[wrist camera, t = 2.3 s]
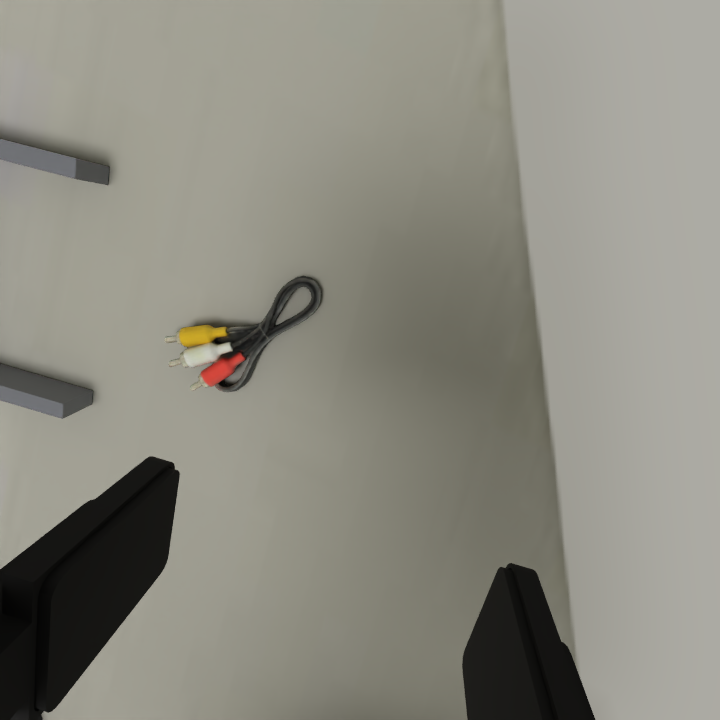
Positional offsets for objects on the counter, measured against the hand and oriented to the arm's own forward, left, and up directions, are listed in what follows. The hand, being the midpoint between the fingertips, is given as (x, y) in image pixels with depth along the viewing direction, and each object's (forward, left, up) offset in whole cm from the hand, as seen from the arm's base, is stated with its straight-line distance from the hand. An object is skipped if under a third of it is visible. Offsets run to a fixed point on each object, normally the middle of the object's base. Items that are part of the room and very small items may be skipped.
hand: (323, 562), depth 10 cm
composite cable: (+8, 0, -17) cm, 18 cm away
